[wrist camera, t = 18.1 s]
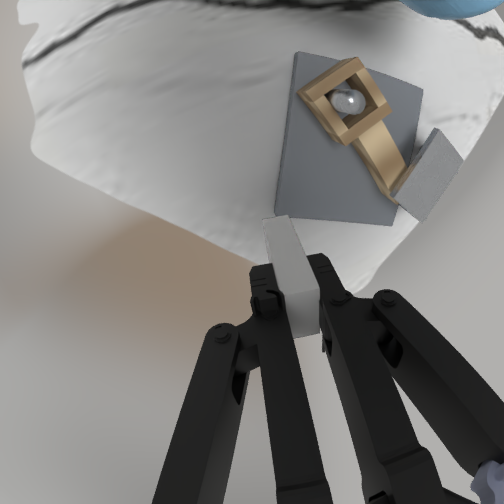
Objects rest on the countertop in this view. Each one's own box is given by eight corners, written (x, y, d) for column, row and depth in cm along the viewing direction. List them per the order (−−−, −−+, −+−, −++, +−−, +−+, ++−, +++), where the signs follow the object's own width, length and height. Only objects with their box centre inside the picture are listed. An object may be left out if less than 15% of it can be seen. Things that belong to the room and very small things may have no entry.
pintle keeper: (315, 87, 28) (343, 86, 21) (436, 123, 30) (476, 136, 23) (300, 187, 35) (320, 215, 27) (416, 203, 37) (450, 230, 30)
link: (295, 91, 27) (305, 91, 24) (342, 59, 25) (357, 56, 22) (371, 200, 35) (386, 213, 31) (409, 171, 33) (426, 181, 29)
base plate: (295, 53, 26) (298, 51, 24) (416, 88, 28) (423, 89, 27) (274, 211, 36) (276, 216, 35) (387, 221, 38) (391, 226, 37)
